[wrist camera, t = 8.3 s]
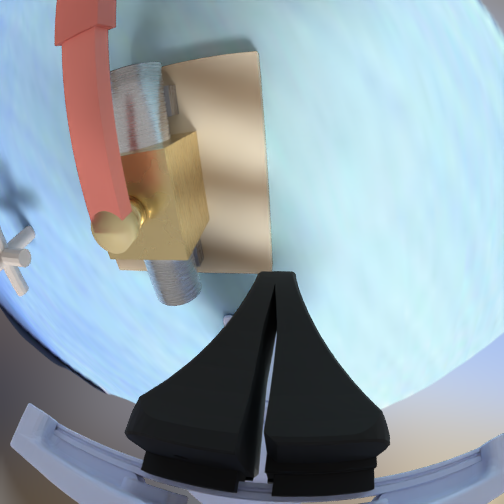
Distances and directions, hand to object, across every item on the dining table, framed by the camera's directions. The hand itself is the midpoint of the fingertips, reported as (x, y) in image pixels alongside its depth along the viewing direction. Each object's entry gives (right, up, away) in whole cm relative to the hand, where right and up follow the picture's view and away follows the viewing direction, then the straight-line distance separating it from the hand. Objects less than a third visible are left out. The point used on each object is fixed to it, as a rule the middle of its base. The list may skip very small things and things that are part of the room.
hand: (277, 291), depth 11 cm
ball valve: (-7, +7, +8) cm, 13 cm away
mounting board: (-7, +7, +8) cm, 13 cm away
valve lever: (-8, +9, -1) cm, 12 cm away
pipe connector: (-27, +4, +14) cm, 31 cm away
